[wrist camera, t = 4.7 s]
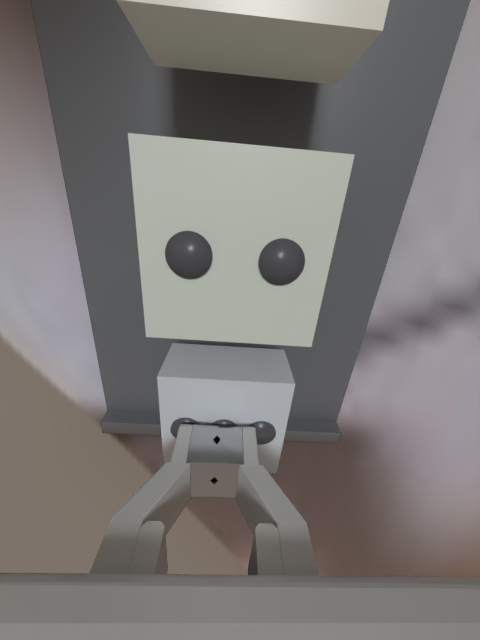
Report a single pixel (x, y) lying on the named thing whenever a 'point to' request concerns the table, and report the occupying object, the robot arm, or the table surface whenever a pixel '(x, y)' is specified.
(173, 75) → the keypad board
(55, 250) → the table surface
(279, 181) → the key two
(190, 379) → the key three
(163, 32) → the key one
